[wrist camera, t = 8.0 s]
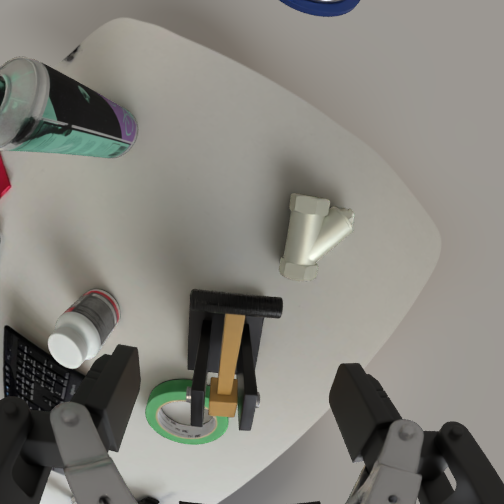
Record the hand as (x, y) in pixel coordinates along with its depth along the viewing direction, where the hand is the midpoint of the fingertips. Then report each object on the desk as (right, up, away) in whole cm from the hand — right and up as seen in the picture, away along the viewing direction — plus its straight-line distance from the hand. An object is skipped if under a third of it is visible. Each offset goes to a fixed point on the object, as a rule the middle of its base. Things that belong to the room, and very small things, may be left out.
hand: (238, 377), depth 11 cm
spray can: (-14, +17, +16) cm, 27 cm away
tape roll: (-8, -16, +25) cm, 31 cm away
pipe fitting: (+7, +7, +20) cm, 22 cm away
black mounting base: (-3, -4, +22) cm, 23 cm away
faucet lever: (-1, -2, +10) cm, 10 cm away
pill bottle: (-17, -2, +21) cm, 27 cm away
